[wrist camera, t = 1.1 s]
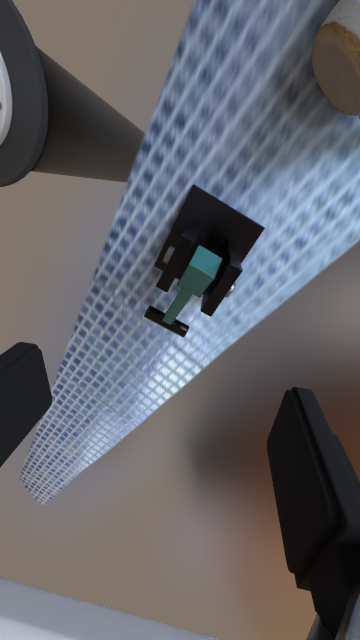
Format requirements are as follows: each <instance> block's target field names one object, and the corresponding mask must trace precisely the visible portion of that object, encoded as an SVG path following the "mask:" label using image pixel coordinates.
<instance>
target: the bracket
mask: <svg viewBox="0 0 360 640" xmlns="http://www.w3.org/2000/svg"><path fill="white" fill-rule="evenodd" d="M264 229H265V228H264V227H263V226H261V225H260V224H258V223H256V222H255V221H253V220H251V219H250V218H248V217H246V216H245V215H243V214H242V213H240V212H238V211H237V210H235V209H233V208H232V207H230V206H228V205H227V204H225V203H223V202H222V201H220V200H219V199H217V198H215V197H214V196H212V195H210V194H209V193H207V192H205V191H204V190H202V189H200V188H199V187H197V186H196V185H193V186H192V188H191V190H190V192H189V194H188V196H187V198H186V200H185V202H184V204H183V206H182V209H181V211H180V213H179V215H178V217H177V219H176V221H175V223H174V225H173V227H172V229H171V232H170V234H169V236H168V238H167V240H166V242H165V244H164V246H163V248H162V250H161V252H160V255H159V257H158V259H157V261H156V263H155V265H154V266H155V267H157V268H159V269H161V270H163V273H162V275H161V277H160V279H159V281H158V283H157V285H156V287H158V288H159V289H161V290H163V291H165V292H168V290H169V288H170V286H171V284H172V283H173V281H174V279H175V278H177V279H179V280H180V278H181V276H182V274H183V272H184V270H185V268H186V266H187V265H188V263H189V261H190V259H191V257H192V256H193V254H194V252H195V250H196V249H197V247H198V246H199V245H200V246H202V247H203V248H205V249H207V250H208V251H210V252H212V253H214V254H215V255H217V256H219V257H221V258H222V261H221V264H220V266H219V269H218V271H217V274H216V276H215V278H214V280H213V281H212V282H211V284H210V285H209V286H208V288H207V289H206V290H205V291H204V293H203V299H202V305H201V312H203V313H205V314H207V315H209V316H212V315H213V313H214V312H215V310H216V309H217V307H218V306H219V304H220V303H221V301H222V300H223V299H224V297H228V296H229V295H230V294H231V292H232V291H233V289H234V287H235V281H236V280H237V278H238V277H239V275H240V274H241V272H242V267H241V263H242V261H243V260H244V258H245V257H246V255H247V254H248V252H249V251H250V249H251V248H252V246H253V245H254V243H255V242H256V240H257V239H258V238H259V236H260V235H261V233H262V232H263V230H264Z"/></svg>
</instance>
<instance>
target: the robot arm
mask: <svg viewBox="0 0 360 640" xmlns="http://www.w3.org/2000/svg"><path fill="white" fill-rule="evenodd" d="M11 118H12V93H11V84H10V80H9V76H8V72H7V68H6V65H5V63H4V60H3V57H2V55H1V52H0V145H1V144H2V143H3V141H4V140H5V138H6V136H7V133H8V131H9V128H10V123H11ZM51 404H52V395H51V390H50V386H49V382H48V377H47V373H46V369H45V364H44V360H43V356H42V352H41V350H40V349H39V348H38V346H37V345H36V344H31V343H25V342H19V343H17V344H15V345H14V346H13V347H11V348H10V349H8V350H7V351H6V352H4V353H3V354H1V355H0V467H1V466H2V465H3V463H4V462H5V461H6V460H7V458H8V457H9V456H10V455H11V454H12V452H13V451H14V450H15V449H16V448H17V446H18V445H19V444H20V443H21V442H22V440H23V439H24V438H25V436H26V435H27V434H28V433H29V432H30V431H31V429H32V428H33V427H34V426H35V424H36V423H37V422H38V421H39V420H40V419H41V417H42V416H43V415H44V414H45V412H46V411H47V410H48V409H49V407H50V406H51ZM267 452H268V457H269V463H270V469H271V475H272V481H273V487H274V492H275V498H276V504H277V510H278V516H279V521H280V527H281V533H282V539H283V544H284V551H285V557H286V562H287V566H288V569H289V571H290V572H291V573H294V574H295V579H296V585H297V588H299V589H304V590H308V591H311V594H312V599H313V603H314V607H315V611H316V612H317V615H316V618H315V620H314V622H313V625H312V627H311V630H310V632H309V634H308V637H307V639H306V640H360V481H359V479H358V478H357V475H356V473H355V471H354V469H353V467H352V465H351V463H350V461H349V458H348V456H347V454H346V452H345V450H344V448H343V446H342V444H341V442H340V440H339V438H338V437H337V436H336V435H335V434H332V432H331V430H330V428H329V426H328V423H327V421H326V419H325V417H324V415H323V412H322V411H321V408H320V406H319V404H318V401H317V399H316V397H315V395H314V393H313V391H312V390H310V389H304V388H298V387H293V388H292V389H291V390H287V391H286V392H285V394H284V397H283V400H282V403H281V405H280V408H279V410H278V413H277V416H276V418H275V421H274V424H273V427H272V429H271V432H270V434H269V437H268V441H267ZM0 640H220V639H216V638H213V637H209V636H205V635H202V634H199V633H195V632H192V631H188V630H185V629H181V628H178V627H174V626H171V625H167V624H164V623H160V622H157V621H153V620H150V619H146V618H143V617H139V616H136V615H132V614H128V613H125V612H122V611H118V610H115V609H111V608H108V607H104V606H101V605H97V604H94V603H90V602H87V601H83V600H79V599H76V598H72V597H69V596H65V595H61V594H58V593H54V592H51V591H47V590H44V589H40V588H37V587H33V586H29V585H26V584H22V583H18V582H15V581H11V580H8V579H4V578H1V577H0Z"/></svg>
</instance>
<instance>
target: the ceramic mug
mask: <svg viewBox="0 0 360 640" xmlns="http://www.w3.org/2000/svg"><path fill="white" fill-rule="evenodd" d="M312 64H313V70H314V73H315V77H316V79H317V81H318V84H319V86H320V88H321V90H322V91H323V93H324V95H325V96H326V98H327V99H328V100H329V101H330V103H331V104H332V105H333V106H334V107H335V108H336V109H338V110H339V111H341V112H342V113H344V114H347V115H359V119H360V0H339V1H338V2H337V4H336V5H335V6H334V7H333V9H332V10H331V12H330V13H329V15H328V16H327V18H326V19H325V21H324V22H323V24H322V25H321V27H320V29H319V30H318V32H317V34H316V36H315V39H314V43H313V48H312Z"/></svg>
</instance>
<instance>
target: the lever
mask: <svg viewBox="0 0 360 640" xmlns="http://www.w3.org/2000/svg"><path fill="white" fill-rule="evenodd" d="M221 261H222V258H221V257H219V256H217V255H215V254H214V253H212V252H210V251H208V250H207V249H205V248H203V247H202V246H200V245H199V246H198V247H197V249H196V250H195V252H194V254H193V256H192V257H191V259H190V261H189V263H188V265H187V266H186V268H185V270H184V272H183V274H182V276H181V278H180V280H179V282H178V283H177V285H178V286H180V287H181V289H180V291H179V292H178V294H177V296H176V297H175V299H174V301H173V302H172V304H171V306H170V307H169V309H168V310H167V312H166V313H164V312H162V311H160V310H158V309H156V308H154V307H153V306H151V305H150V306H149V308H148V309H147V311H146V313H145V315H144V317H146V318H148V319H149V320H151V321H153V322H155V323H157V324H159V325H161V326H163V327H164V328H166V329H168V330H170V331H172V332H174V333H176V334H178V335H179V336H181V337H184V336H185V335H186V333H187V331H188V329H189V326H188V325H186V324H184V323H182V322H180V321H179V320H177V319H175V318H176V317H177V316H178V314H179V313H180V311H181V310H182V309H183V307H184V306H185V304H186V303H187V302H188V300H189V299H190V297H191V296H192V294H194V295H196V296H197V297H201V295H202V294H203V293H204V291H205V290H206V289H207V288H208V286H209V285H210V284H211V282H212V281H213V280H214V278H215V276H216V274H217V271H218V269H219V266H220V264H221Z"/></svg>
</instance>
